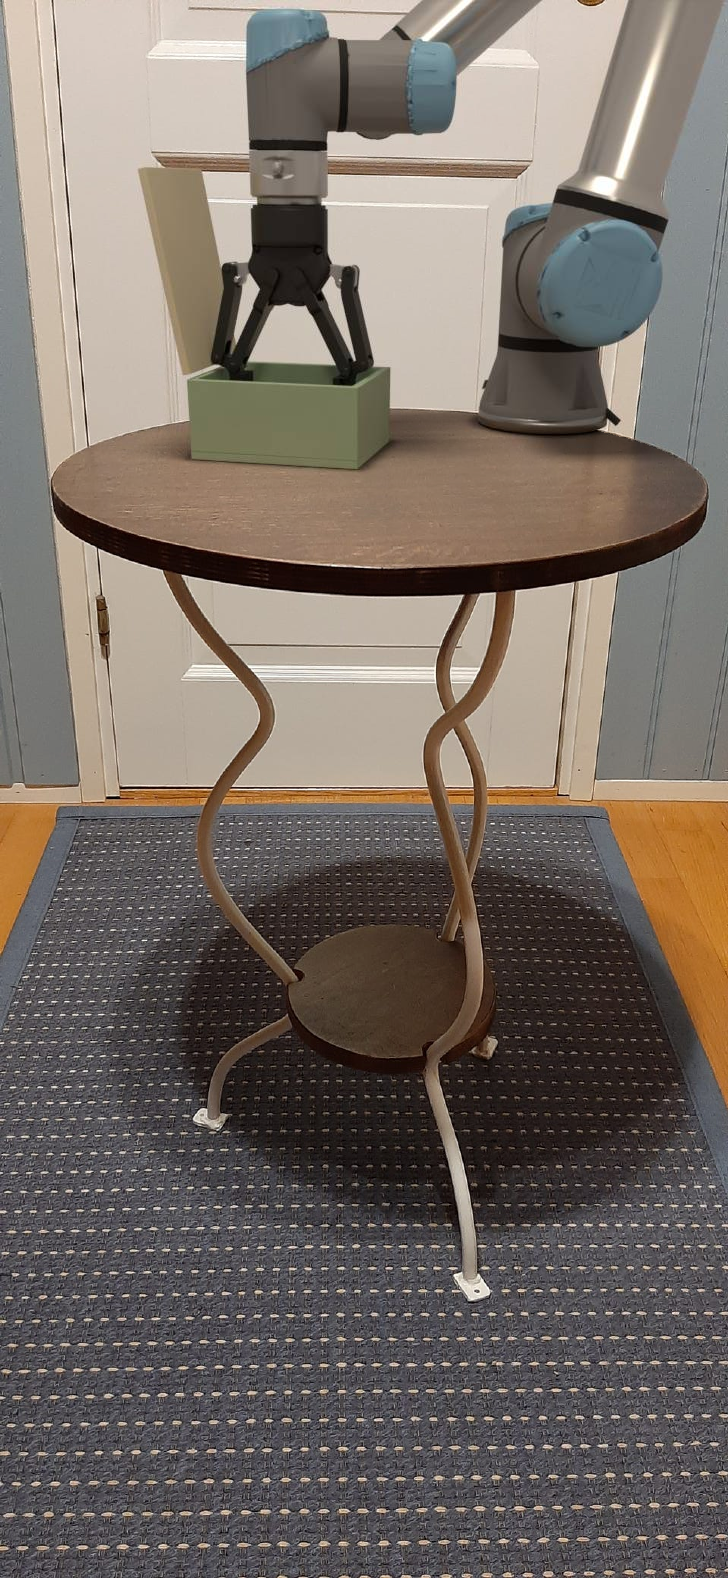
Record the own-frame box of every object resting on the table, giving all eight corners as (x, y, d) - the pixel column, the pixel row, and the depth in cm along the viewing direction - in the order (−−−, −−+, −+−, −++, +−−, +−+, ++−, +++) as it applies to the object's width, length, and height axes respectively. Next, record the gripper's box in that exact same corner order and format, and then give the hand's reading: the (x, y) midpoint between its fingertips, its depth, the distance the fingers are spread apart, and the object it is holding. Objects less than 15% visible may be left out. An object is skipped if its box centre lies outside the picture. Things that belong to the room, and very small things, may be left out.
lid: (201, 168, 119) (194, 170, 119) (145, 166, 106) (137, 168, 107) (238, 355, 127) (231, 356, 127) (189, 374, 114) (182, 375, 114)
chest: (389, 441, 127) (390, 367, 123) (357, 469, 114) (357, 387, 111) (238, 433, 131) (235, 360, 127) (191, 459, 118) (186, 379, 114)
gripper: (167, 200, 111) (182, 439, 121) (392, 204, 106) (387, 451, 116) (195, 199, 117) (207, 426, 127) (408, 203, 113) (402, 438, 123)
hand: (293, 438), depth 122 cm, fingers closed on gaming controller, 9 cm apart
